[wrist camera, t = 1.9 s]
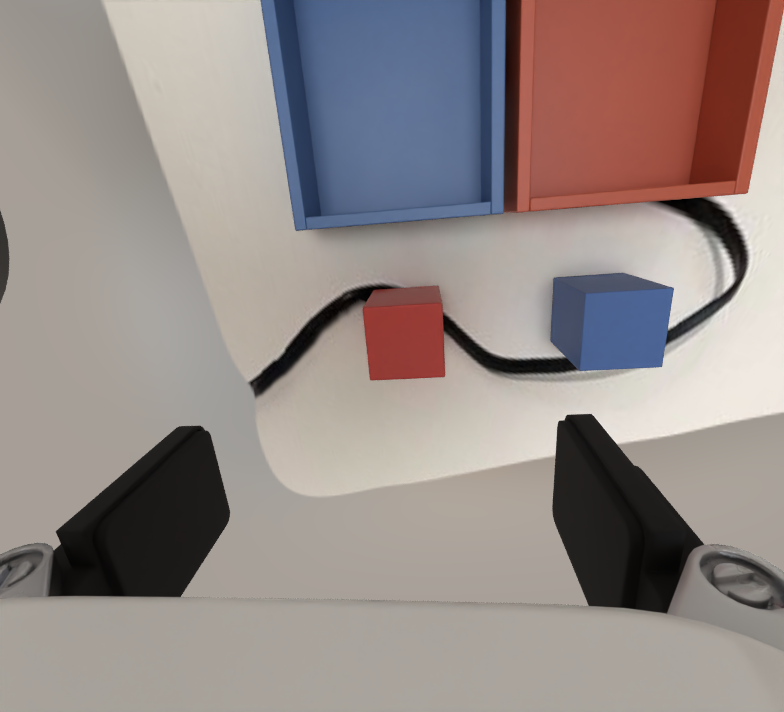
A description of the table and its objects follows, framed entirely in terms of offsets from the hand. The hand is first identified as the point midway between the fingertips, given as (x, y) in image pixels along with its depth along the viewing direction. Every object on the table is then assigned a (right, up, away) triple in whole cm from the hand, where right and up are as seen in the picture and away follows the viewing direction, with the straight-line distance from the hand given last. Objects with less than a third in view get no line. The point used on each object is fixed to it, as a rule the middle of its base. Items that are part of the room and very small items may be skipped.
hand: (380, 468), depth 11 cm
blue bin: (0, +17, +11) cm, 20 cm away
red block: (+1, +5, +15) cm, 16 cm away
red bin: (+11, +17, +10) cm, 23 cm away
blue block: (+12, +6, +14) cm, 19 cm away
